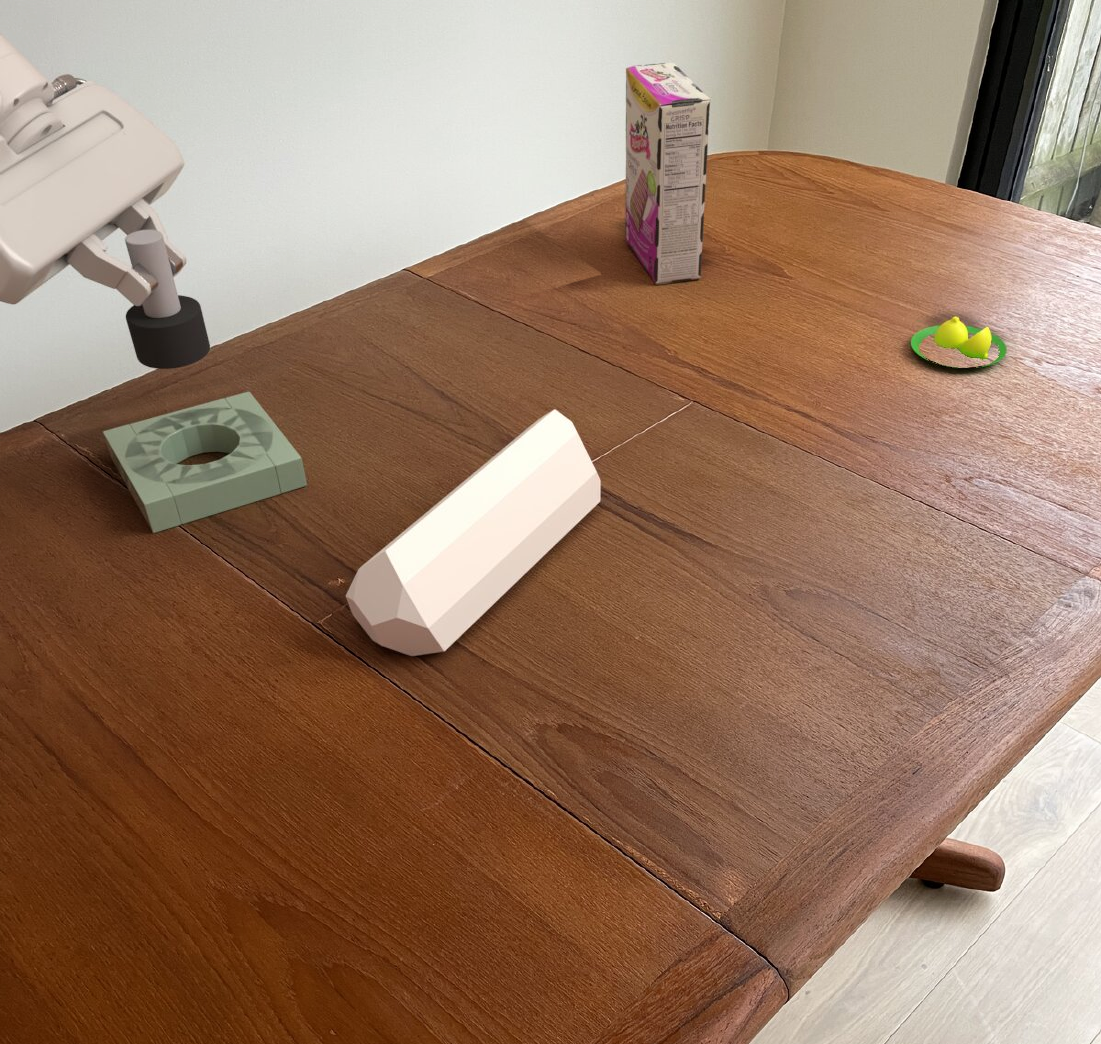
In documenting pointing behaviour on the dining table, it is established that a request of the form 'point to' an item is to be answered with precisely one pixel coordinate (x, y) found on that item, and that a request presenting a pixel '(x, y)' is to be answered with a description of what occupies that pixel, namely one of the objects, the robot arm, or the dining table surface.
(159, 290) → the stopper
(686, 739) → the dining table surface
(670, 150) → the candy bar box
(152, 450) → the sink plate
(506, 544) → the crystal
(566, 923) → the dining table surface
